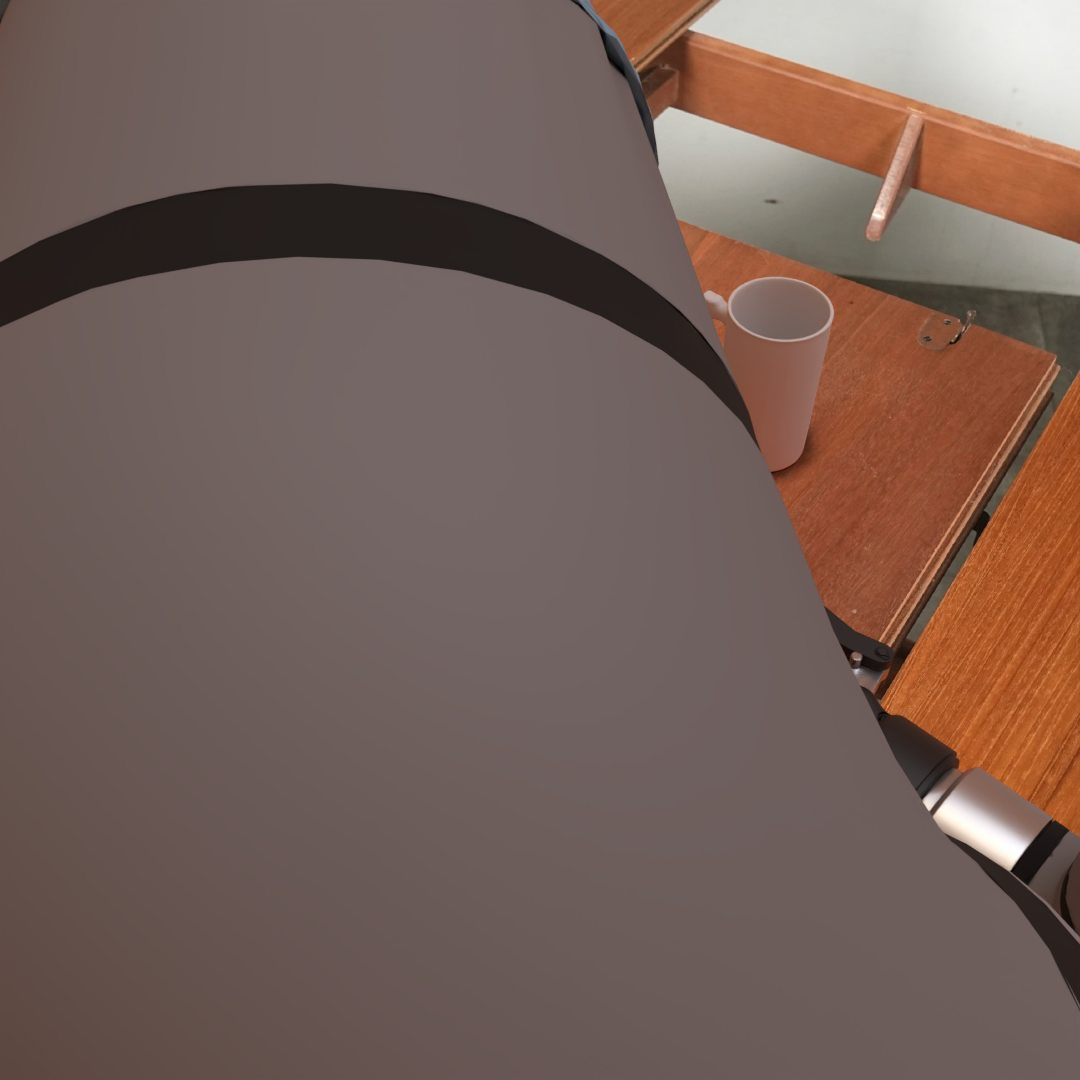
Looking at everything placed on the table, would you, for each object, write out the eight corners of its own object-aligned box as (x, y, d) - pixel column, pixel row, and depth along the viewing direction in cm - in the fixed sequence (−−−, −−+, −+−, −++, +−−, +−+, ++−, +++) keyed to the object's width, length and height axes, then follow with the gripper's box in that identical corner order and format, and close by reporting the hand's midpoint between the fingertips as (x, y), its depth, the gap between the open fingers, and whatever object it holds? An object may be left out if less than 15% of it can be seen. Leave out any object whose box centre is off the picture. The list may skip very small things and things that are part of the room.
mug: (824, 435, 87) (852, 300, 78) (778, 490, 83) (802, 355, 74) (705, 381, 91) (718, 247, 82) (656, 431, 87) (664, 297, 78)
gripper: (776, 1015, 53) (430, 715, 64) (1011, 733, 63) (674, 512, 73) (799, 947, 48) (416, 630, 59) (1054, 648, 57) (682, 422, 68)
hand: (560, 565), depth 66 cm, fingers closed on speaker, 7 cm apart
